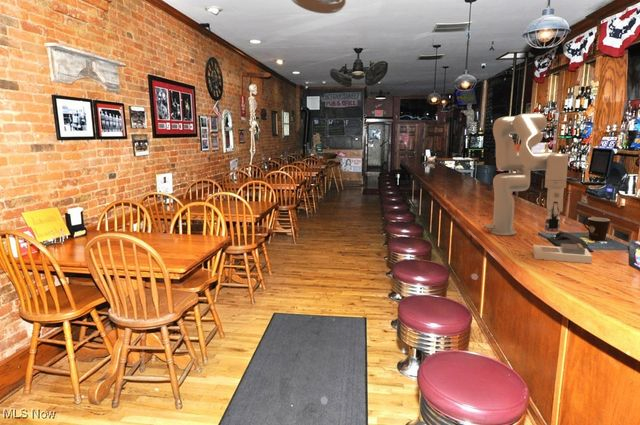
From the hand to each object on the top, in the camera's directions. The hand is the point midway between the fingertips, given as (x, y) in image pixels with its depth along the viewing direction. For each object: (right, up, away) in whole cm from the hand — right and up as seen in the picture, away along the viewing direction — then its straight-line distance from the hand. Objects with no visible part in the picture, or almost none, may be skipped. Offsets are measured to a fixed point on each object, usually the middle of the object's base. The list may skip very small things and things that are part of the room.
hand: (552, 226), depth 165 cm
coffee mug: (+36, -7, +26) cm, 45 cm away
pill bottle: (0, -3, +1) cm, 3 cm away
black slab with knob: (+19, -10, +18) cm, 27 cm away
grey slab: (+8, -10, -1) cm, 13 cm away
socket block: (+4, -13, +1) cm, 14 cm away
